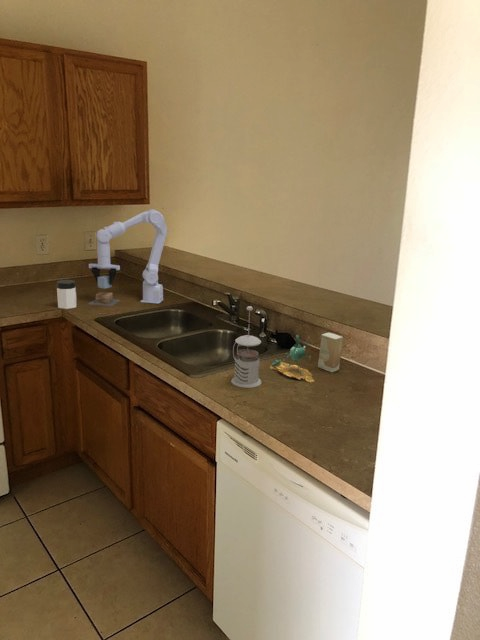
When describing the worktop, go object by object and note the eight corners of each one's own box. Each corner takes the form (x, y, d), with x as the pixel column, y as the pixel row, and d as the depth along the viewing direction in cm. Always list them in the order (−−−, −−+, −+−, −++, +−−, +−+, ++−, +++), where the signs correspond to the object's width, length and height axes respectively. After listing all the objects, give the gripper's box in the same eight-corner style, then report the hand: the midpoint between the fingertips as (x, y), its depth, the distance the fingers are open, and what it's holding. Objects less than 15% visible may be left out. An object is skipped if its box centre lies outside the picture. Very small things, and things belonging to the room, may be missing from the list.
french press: (242, 390, 161) (246, 312, 154) (221, 377, 170) (224, 303, 163) (267, 383, 167) (272, 307, 160) (246, 371, 176) (249, 299, 169)
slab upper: (112, 296, 254) (112, 292, 253) (107, 299, 248) (107, 295, 248) (100, 295, 255) (100, 291, 254) (95, 298, 249) (95, 294, 248)
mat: (120, 300, 257) (120, 299, 257) (111, 306, 246) (111, 305, 246) (97, 298, 259) (97, 297, 258) (87, 304, 247) (87, 304, 247)
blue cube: (111, 286, 249) (111, 276, 248) (104, 288, 246) (104, 278, 244) (104, 285, 252) (104, 275, 250) (97, 287, 248) (97, 276, 247)
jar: (76, 309, 239) (75, 283, 236) (57, 309, 237) (55, 283, 234) (77, 304, 248) (75, 279, 244) (58, 304, 246) (57, 279, 242)
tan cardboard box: (112, 300, 254) (112, 296, 254) (108, 303, 249) (107, 299, 248) (101, 299, 255) (100, 295, 255) (95, 302, 250) (95, 298, 249)
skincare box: (317, 367, 182) (320, 334, 179) (325, 364, 185) (328, 331, 181) (332, 373, 178) (335, 338, 174) (340, 370, 181) (343, 336, 177)
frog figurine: (283, 362, 186) (290, 324, 180) (321, 384, 173) (330, 343, 168) (264, 368, 180) (270, 328, 174) (302, 391, 167) (310, 349, 162)
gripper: (121, 255, 248) (122, 283, 251) (92, 253, 249) (93, 281, 253) (116, 257, 241) (117, 286, 245) (86, 255, 243) (87, 284, 247)
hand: (104, 284), depth 249 cm, fingers closed on blue cube, 6 cm apart
